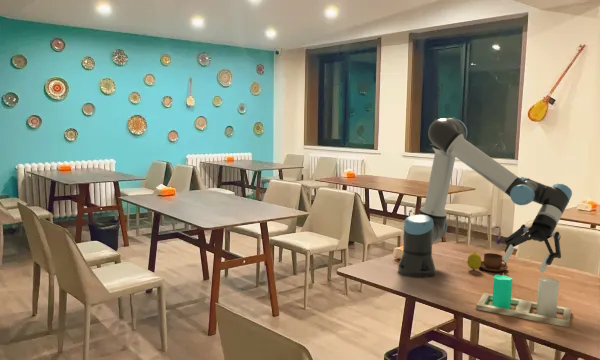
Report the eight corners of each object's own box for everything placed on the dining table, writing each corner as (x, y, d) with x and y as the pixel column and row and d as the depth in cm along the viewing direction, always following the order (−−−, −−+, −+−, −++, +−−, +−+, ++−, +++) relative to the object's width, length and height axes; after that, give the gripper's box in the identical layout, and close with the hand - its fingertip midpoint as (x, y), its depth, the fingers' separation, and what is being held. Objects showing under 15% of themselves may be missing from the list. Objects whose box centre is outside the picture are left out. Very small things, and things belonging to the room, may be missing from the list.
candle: (512, 310, 171) (514, 276, 170) (493, 309, 172) (495, 275, 171) (508, 304, 177) (510, 271, 176) (490, 302, 178) (492, 269, 177)
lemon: (474, 273, 212) (475, 254, 211) (464, 269, 217) (465, 251, 216) (483, 271, 215) (484, 253, 214) (473, 267, 219) (474, 249, 218)
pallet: (476, 309, 172) (476, 304, 172) (484, 296, 184) (484, 292, 184) (568, 327, 158) (569, 322, 158) (570, 312, 170) (571, 308, 170)
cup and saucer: (509, 268, 220) (510, 254, 219) (504, 275, 210) (505, 261, 209) (481, 263, 226) (482, 250, 226) (474, 270, 216) (475, 256, 215)
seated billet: (535, 316, 167) (537, 281, 165) (537, 310, 172) (539, 276, 170) (555, 320, 164) (558, 284, 162) (556, 314, 169) (559, 279, 167)
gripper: (584, 233, 180) (560, 281, 173) (517, 219, 199) (493, 262, 192) (579, 220, 176) (555, 269, 169) (511, 207, 195) (487, 251, 188)
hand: (522, 265), depth 180 cm, fingers open, 13 cm apart
